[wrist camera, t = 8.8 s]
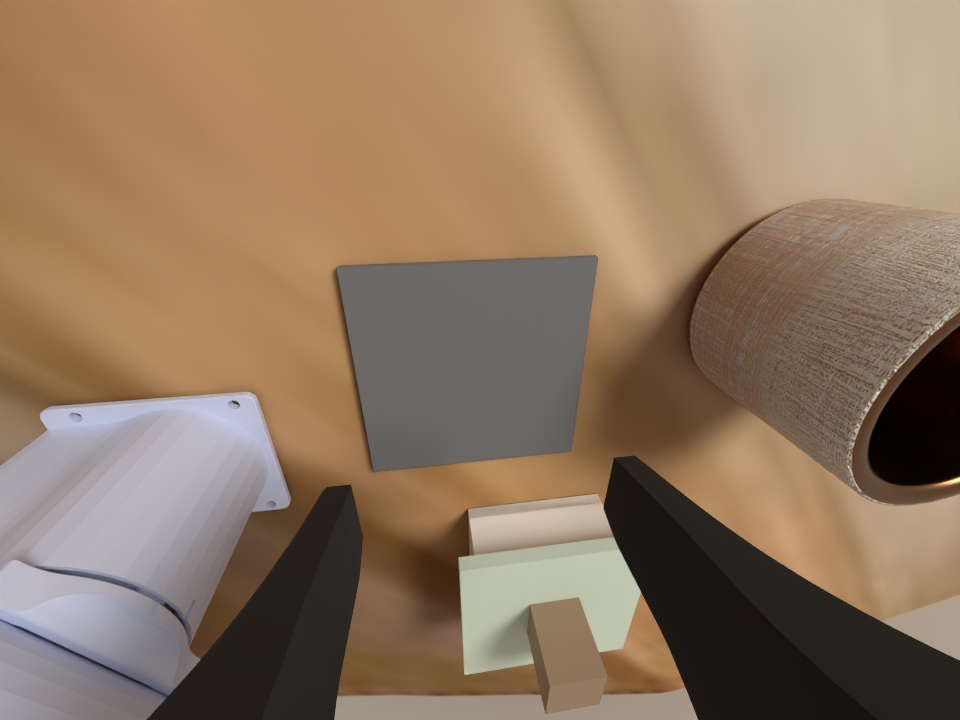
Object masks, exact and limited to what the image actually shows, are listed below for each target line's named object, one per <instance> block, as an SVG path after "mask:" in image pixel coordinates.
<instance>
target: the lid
mask: <svg viewBox="0 0 960 720" xmlns="http://www.w3.org/2000/svg"><path fill="white" fill-rule="evenodd" d="M458 559H459V581H460V602H461V623H462V645H463V664H464V675H467V674H473V673H479V672H485V671H491V670H497V669H503V668H509V667H515V666H521V665H527V664H533V663H534V665H535V670H536V674H537V679H538V683H539V688H540V692H541V696H542V701H543V705H544V710H545V713H546V714H548V713H554V712H559V711H564V710H570V709H575V708H580V707H586V706H591V705H596V704H599V703H600V700H601V697H602V693H603V690H604V687H605V684H606V681H607V677H608V676H607V673H606V671H605V668H604V665H603V662H602V660H601V657H600V654H599V652H604V651H610V650H616V649H622V648H623V645H624V642H625V639H626V636H627V633H628V630H629V627H630V623H631V620H632V617H633V614H634V611H635V608H636V605H637V602H638V599H639V596H640V593H641V591H640V589H639V587H638V585H637V583H636V581H635V579H634V577H633V576H632V574H631V572H630V570H629V568H628V566H627V564H626V562H625V560H624V558H623V556H622V554H621V552H620V550H619V548H618V546H617V544H616V541H615V539H614V537H610V538H602V539H595V540H587V541H579V542H572V543H564V544H557V545H549V546H541V547H534V548H526V549H519V550H511V551H503V552H496V553H488V554H480V555H473V556H465V557H458Z"/></svg>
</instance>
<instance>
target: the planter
mask: <svg viewBox="0 0 960 720" xmlns="http://www.w3.org/2000/svg"><path fill="white" fill-rule="evenodd" d="M689 341H690V348H691V352H692V355H693V358H694V360H695V363H696V364H697V366H698V368H699V369H700V370H701V371H702V373H703V374H704V375H705V376H706V377H707V378H708V379H709V380H710V381H711V382H712V383H713V384H715V385H716V386H717V387H718V388H720V389H721V390H722V391H724V392H725V393H726V394H728V395H729V396H730V397H732V398H733V399H734V400H736V401H737V402H738V403H740V404H741V405H742V406H744V407H745V408H746V409H748V410H749V411H750V412H752V413H753V414H754V415H756V416H757V417H758V418H760V419H761V420H762V421H764V422H765V423H766V424H768V425H769V426H770V427H772V428H773V429H774V430H776V431H777V432H778V433H780V434H781V435H782V436H784V437H785V438H786V439H788V440H789V441H790V442H792V443H793V444H794V445H795V446H797V447H798V448H799V449H801V450H802V451H803V452H805V453H806V454H807V455H809V456H810V457H811V458H813V459H814V460H815V461H816V462H818V463H819V464H820V465H822V466H823V467H824V468H826V469H827V470H828V471H829V472H831V473H832V474H833V475H835V476H836V477H837V478H839V479H840V480H841V481H842V482H844V483H845V484H846V485H848V486H849V487H850V488H851V489H853V490H854V491H855V492H857V493H858V494H859V495H861V496H862V497H864V498H866V499H868V500H870V501H872V502H875V503H879V504H884V505H893V506H907V505H917V504H924V503H929V502H934V501H938V500H942V499H945V498H949V497H952V496H955V495H958V494H960V214H958V213H950V212H943V211H935V210H928V209H920V208H913V207H905V206H898V205H890V204H882V203H874V202H866V201H858V200H850V199H820V200H812V201H807V202H803V203H799V204H796V205H793V206H790V207H788V208H785V209H783V210H781V211H779V212H777V213H775V214H773V215H771V216H769V217H768V218H766V219H764V220H763V221H761V222H760V223H758V224H757V225H755V226H754V227H753V228H751V229H750V230H749V231H747V232H746V233H745V234H744V235H743V236H742V237H741V238H739V239H738V240H737V241H736V242H735V243H734V244H733V245H732V246H731V247H730V248H729V249H728V250H727V251H726V252H725V254H724V255H723V256H722V257H721V259H720V260H719V261H718V262H717V264H716V265H715V266H714V268H713V269H712V271H711V272H710V274H709V275H708V277H707V279H706V280H705V282H704V284H703V286H702V288H701V290H700V292H699V295H698V297H697V299H696V302H695V305H694V308H693V312H692V316H691V321H690V330H689Z"/></svg>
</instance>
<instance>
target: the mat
mask: <svg viewBox="0 0 960 720" xmlns="http://www.w3.org/2000/svg"><path fill="white" fill-rule="evenodd" d="M597 261H598V257H597V256H595V255H593V256H568V257H543V258H518V259H493V260H468V261H443V262H418V263H393V264H368V265H343V266H338V267H337V274H338V279H339V285H340V290H341V296H342V301H343V307H344V312H345V318H346V323H347V328H348V334H349V339H350V345H351V350H352V356H353V361H354V367H355V372H356V378H357V383H358V389H359V394H360V400H361V405H362V411H363V416H364V421H365V427H366V432H367V438H368V443H369V449H370V454H371V460H372V465H373V471H374V472H377V471H387V470H396V469H406V468H416V467H426V466H435V465H445V464H455V463H464V462H474V461H484V460H493V459H503V458H513V457H523V456H532V455H542V454H552V453H561V452H571V449H572V441H573V434H574V427H575V420H576V413H577V405H578V398H579V391H580V384H581V377H582V369H583V362H584V355H585V348H586V341H587V333H588V326H589V319H590V312H591V305H592V297H593V290H594V283H595V276H596V269H597Z"/></svg>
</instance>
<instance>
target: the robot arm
mask: <svg viewBox="0 0 960 720" xmlns="http://www.w3.org/2000/svg"><path fill="white" fill-rule="evenodd" d="M232 400H233V401H237V402H238V403H239V404H240V405H237V404H234V403H233V402H232ZM78 414H80V415H81V416H82V417H81V416H79V415H78ZM40 419H41V421H42V422H43V424H44V425H45V427H46V428H47V429H48V430H47V431H46V432H45V433H43V434H42V435H41V436H39V437H38V438H37V439H35V440H34V441H33V442H31V443H30V444H29V445H27V446H26V447H25V448H23V449H22V450H21V451H19V452H18V453H17V454H15V455H14V456H13V457H11V458H10V459H9V460H7V461H6V462H5V463H3V464H2V465H1V466H0V720H334V716H335V708H336V700H337V694H338V687H339V681H340V675H341V670H342V665H343V660H344V655H345V650H346V645H347V639H348V634H349V629H350V624H351V619H352V614H353V609H354V603H355V598H356V593H357V588H358V582H359V576H360V565H361V553H362V541H363V536H362V531H361V527H360V522H359V518H358V514H357V509H356V505H355V500H354V496H353V491H352V487H351V485H344V486H334V487H327V488H326V489H325V490H324V491H323V492H322V494H321V495H320V497H319V499H318V500H317V502H316V504H315V505H314V507H313V508H312V510H311V512H310V513H309V515H308V517H307V518H306V520H305V521H304V523H303V524H302V526H301V527H300V529H299V531H298V532H297V534H296V535H295V537H294V538H293V540H292V541H291V543H290V544H289V545H288V547H287V548H286V550H285V551H284V553H283V554H282V556H281V557H280V559H279V560H278V561H277V563H276V564H275V566H274V567H273V569H272V570H271V571H270V573H269V574H268V576H267V577H266V578H265V580H264V581H263V582H262V584H261V585H260V586H259V588H258V589H257V590H256V592H255V593H254V594H253V596H252V597H251V598H250V600H249V601H248V602H247V604H246V605H245V606H244V608H243V609H242V610H241V611H240V613H239V614H238V615H237V616H236V618H235V619H234V620H233V621H232V623H231V624H230V625H229V626H228V628H227V629H226V630H225V631H224V633H223V634H222V635H221V636H220V637H219V639H218V640H217V641H216V642H215V643H214V644H213V646H212V647H211V648H210V649H209V650H208V652H207V653H206V654H205V655H204V656H203V657H202V659H199V658H198V657H196V656H195V655H194V654H193V653H192V652H191V651H190V649H189V647H190V645H191V642H192V640H193V638H194V636H195V634H196V632H197V629H198V627H199V625H200V623H201V621H202V619H203V616H204V614H205V612H206V610H207V608H208V606H209V603H210V601H211V599H212V597H213V595H214V593H215V590H216V588H217V586H218V584H219V582H220V580H221V577H222V575H223V573H224V571H225V569H226V567H227V564H228V562H229V560H230V558H231V556H232V554H233V552H234V549H235V547H236V545H237V543H238V541H239V539H240V536H241V534H242V532H243V530H244V528H245V526H246V523H247V521H248V519H249V517H250V515H251V513H252V512H258V511H267V510H276V509H283V508H286V507H288V506H289V504H290V501H291V497H290V494H289V491H288V488H287V485H286V482H285V479H284V476H283V473H282V470H281V467H280V464H279V461H278V458H277V455H276V452H275V449H274V446H273V443H272V440H271V437H270V434H269V431H268V428H267V425H266V422H265V419H264V416H263V413H262V410H261V407H260V404H259V401H258V399H257V397H256V396H255V395H254V394H253V393H250V392H234V393H221V394H208V395H195V396H181V397H168V398H155V399H142V400H129V401H115V402H102V403H89V404H76V405H63V406H52V407H48V408H47V409H45V410H44V411H42V412H41V413H40ZM271 501H273V502H271ZM603 509H604V512H605V515H606V517H607V520H608V523H609V526H610V528H611V531H612V534H613V536H614V539H615V541H616V544H617V546H618V548H619V550H620V552H621V554H622V556H623V558H624V560H625V562H626V564H627V566H628V568H629V570H630V572H631V574H632V576H633V577H634V579H635V581H636V583H637V585H638V587H639V589H640V591H641V593H642V595H643V597H644V599H645V601H646V603H647V604H648V606H649V608H650V610H651V612H652V614H653V616H654V618H655V620H656V622H657V624H658V626H659V628H660V630H661V632H662V634H663V636H664V638H665V640H666V642H667V644H668V647H669V649H670V651H671V654H672V656H673V658H674V661H675V663H676V666H677V668H678V670H679V673H680V675H681V678H682V680H683V682H684V685H685V687H686V690H687V692H688V694H689V697H690V700H691V702H692V705H693V707H694V710H695V712H696V715H697V717H698V720H960V660H957V659H955V658H953V657H951V656H949V655H947V654H945V653H943V652H940V651H938V650H936V649H934V648H932V647H930V646H928V645H926V644H924V643H922V642H920V641H918V640H916V639H914V638H912V637H910V636H908V635H906V634H904V633H902V632H900V631H898V630H896V629H894V628H893V627H891V626H889V625H887V624H885V623H883V622H881V621H879V620H877V619H875V618H874V617H872V616H870V615H868V614H866V613H864V612H862V611H860V610H859V609H857V608H855V607H853V606H852V605H850V604H848V603H846V602H844V601H843V600H841V599H839V598H837V597H836V596H834V595H832V594H830V593H828V592H827V591H825V590H823V589H821V588H820V587H818V586H816V585H815V584H813V583H811V582H810V581H808V580H806V579H805V578H803V577H801V576H800V575H798V574H796V573H795V572H793V571H792V570H790V569H788V568H787V567H785V566H784V565H782V564H781V563H779V562H777V561H776V560H774V559H773V558H771V557H769V556H768V555H766V554H765V553H763V552H762V551H760V550H759V549H757V548H756V547H754V546H753V545H751V544H750V543H749V542H747V541H746V540H744V539H743V538H741V537H740V536H739V535H737V534H736V533H734V532H733V531H732V530H730V529H729V528H727V527H726V526H725V525H723V524H722V523H720V522H719V521H718V520H716V519H715V518H714V517H712V516H711V515H710V514H708V513H707V512H706V511H704V510H703V509H702V508H700V507H699V506H698V505H696V504H695V503H694V502H693V501H691V500H690V499H689V498H687V497H686V496H685V495H684V494H682V493H681V492H680V491H679V490H677V489H676V488H675V487H674V486H672V485H671V484H670V483H669V482H667V481H666V480H665V479H664V478H662V477H661V476H660V475H659V474H657V473H656V472H655V471H654V470H652V469H651V468H650V467H649V466H647V465H646V464H645V463H644V462H642V461H641V460H640V459H638V458H637V457H636V456H627V457H617V458H614V461H613V465H612V470H611V475H610V479H609V484H608V489H607V494H606V498H605V503H604V508H603Z"/></svg>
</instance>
